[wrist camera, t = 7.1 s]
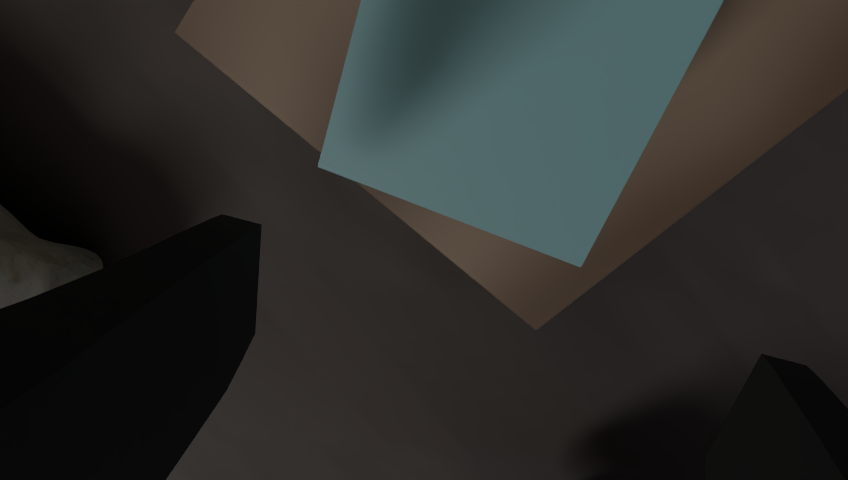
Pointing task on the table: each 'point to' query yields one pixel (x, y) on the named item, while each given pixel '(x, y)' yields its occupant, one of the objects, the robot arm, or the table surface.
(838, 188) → the table surface
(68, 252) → the ceramic sculpture
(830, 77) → the walnut base
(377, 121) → the teal block
